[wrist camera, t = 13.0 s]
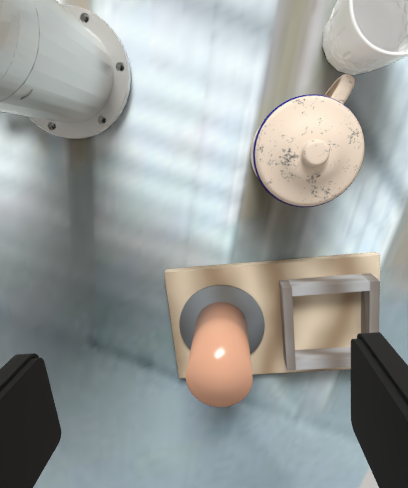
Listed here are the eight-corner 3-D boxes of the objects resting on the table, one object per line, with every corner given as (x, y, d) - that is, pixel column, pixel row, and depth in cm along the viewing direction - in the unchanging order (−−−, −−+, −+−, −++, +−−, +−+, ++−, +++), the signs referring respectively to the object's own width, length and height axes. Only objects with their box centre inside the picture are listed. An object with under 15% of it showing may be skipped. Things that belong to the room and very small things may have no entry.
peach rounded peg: (193, 303, 41) (181, 350, 31) (244, 300, 40) (249, 346, 31) (200, 361, 43) (192, 422, 33) (250, 358, 42) (256, 420, 33)
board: (180, 372, 45) (176, 391, 42) (165, 269, 42) (160, 280, 38) (374, 361, 43) (387, 380, 40) (375, 252, 40) (390, 261, 36)
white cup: (396, -18, 33) (465, -87, 24) (401, 72, 35) (467, 42, 25) (311, 2, 34) (344, -56, 24) (320, 89, 36) (354, 66, 26)
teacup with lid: (302, 210, 39) (332, 234, 28) (232, 168, 38) (233, 175, 27) (369, 110, 36) (433, 91, 25) (293, 62, 35) (324, 21, 24)
